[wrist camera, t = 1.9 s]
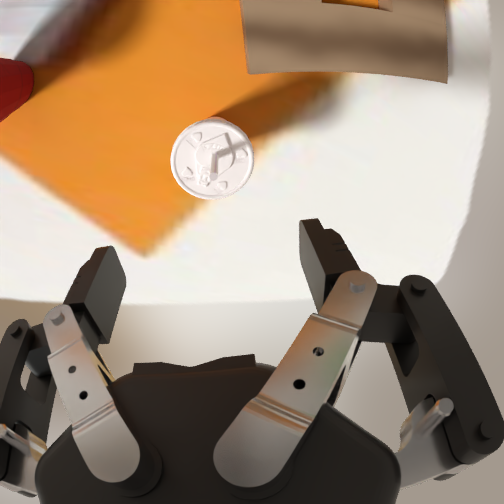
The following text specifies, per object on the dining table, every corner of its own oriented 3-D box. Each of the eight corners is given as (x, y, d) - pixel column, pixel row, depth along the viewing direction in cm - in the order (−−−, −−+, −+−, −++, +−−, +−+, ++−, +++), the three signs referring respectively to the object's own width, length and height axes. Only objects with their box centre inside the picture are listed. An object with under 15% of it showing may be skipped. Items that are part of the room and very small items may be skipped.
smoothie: (255, 117, 29) (279, 158, 18) (230, 170, 32) (237, 241, 21) (197, 95, 27) (179, 119, 16) (175, 150, 30) (147, 211, 19)
